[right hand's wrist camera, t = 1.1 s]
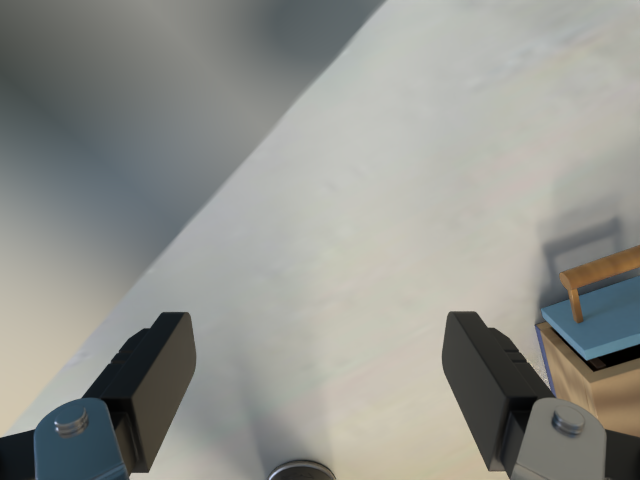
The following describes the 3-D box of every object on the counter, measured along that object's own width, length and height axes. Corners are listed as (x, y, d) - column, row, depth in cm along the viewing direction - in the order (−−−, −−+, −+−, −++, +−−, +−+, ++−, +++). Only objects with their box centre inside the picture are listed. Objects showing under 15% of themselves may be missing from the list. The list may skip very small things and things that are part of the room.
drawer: (529, 263, 37) (573, 298, 31) (635, 225, 36) (704, 254, 29) (565, 410, 44) (607, 464, 38) (655, 384, 43) (715, 435, 36)
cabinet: (534, 325, 41) (589, 383, 33) (642, 289, 40) (729, 341, 31) (560, 428, 47) (613, 501, 38) (656, 400, 45) (733, 470, 37)
